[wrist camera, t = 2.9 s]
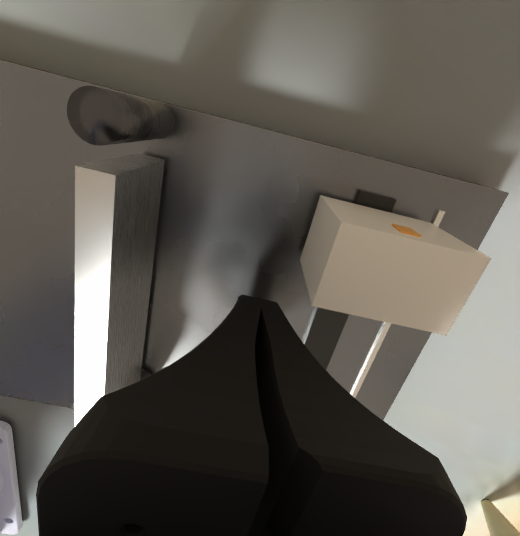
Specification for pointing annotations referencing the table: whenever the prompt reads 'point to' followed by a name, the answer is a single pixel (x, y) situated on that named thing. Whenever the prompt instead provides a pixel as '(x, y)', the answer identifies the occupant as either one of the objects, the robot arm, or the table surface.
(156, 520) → the robot arm
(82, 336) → the door
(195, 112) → the console plate
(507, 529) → the ice cream cone
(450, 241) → the fader knob
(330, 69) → the table surface
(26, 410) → the table surface
